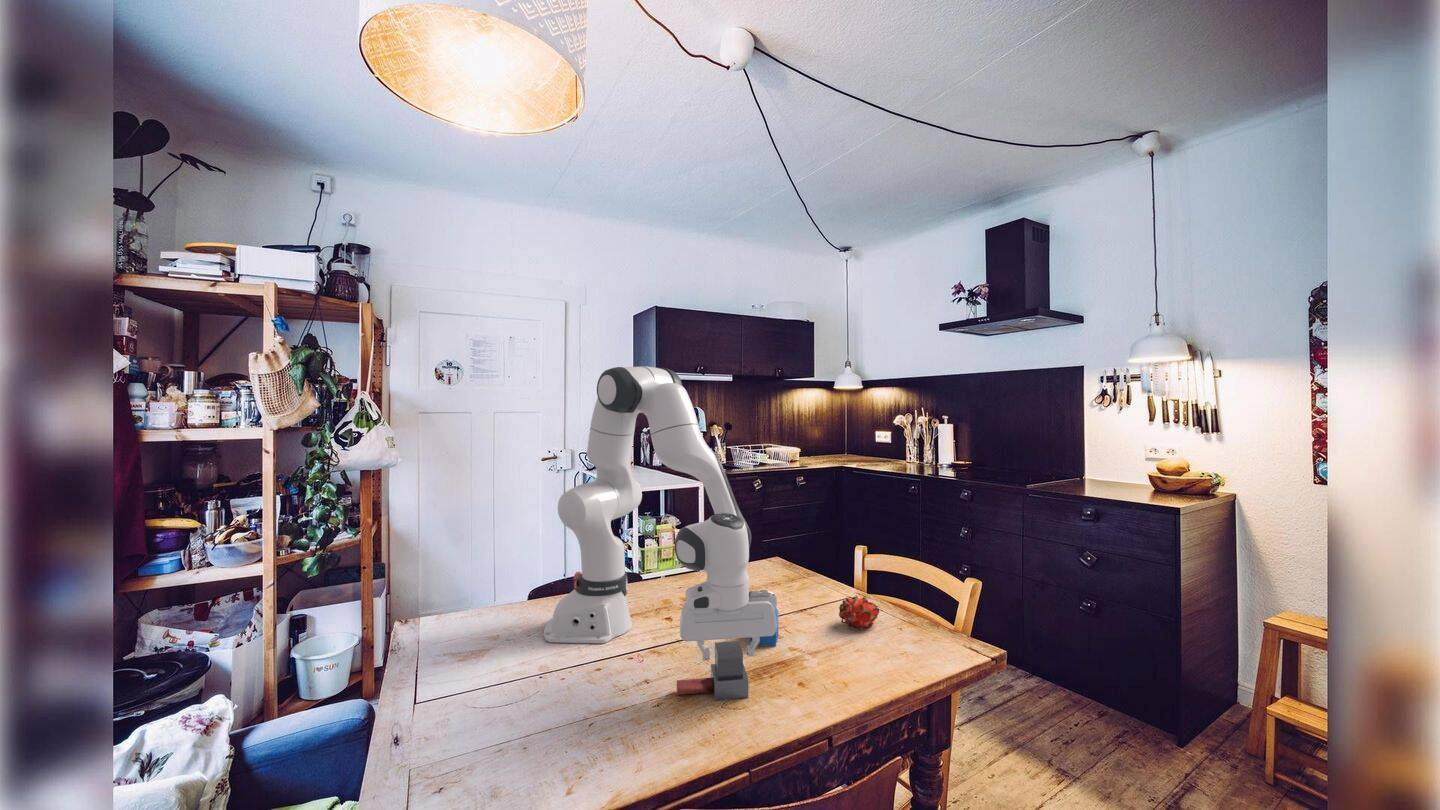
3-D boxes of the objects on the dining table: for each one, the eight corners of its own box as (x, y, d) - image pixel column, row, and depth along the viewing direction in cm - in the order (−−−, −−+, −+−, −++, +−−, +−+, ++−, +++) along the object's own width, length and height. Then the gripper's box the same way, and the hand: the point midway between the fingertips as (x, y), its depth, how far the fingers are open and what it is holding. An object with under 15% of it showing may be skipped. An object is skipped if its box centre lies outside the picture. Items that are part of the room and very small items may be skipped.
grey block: (718, 679, 120) (717, 654, 120) (715, 666, 126) (714, 642, 125) (742, 677, 121) (742, 652, 121) (738, 664, 126) (738, 640, 126)
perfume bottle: (775, 646, 142) (775, 598, 141) (750, 644, 144) (750, 596, 143) (778, 634, 148) (778, 588, 147) (754, 632, 150) (753, 587, 149)
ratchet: (677, 703, 119) (677, 670, 118) (676, 684, 126) (675, 653, 125) (748, 697, 121) (748, 664, 120) (742, 679, 128) (742, 648, 127)
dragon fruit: (834, 633, 152) (874, 633, 155) (849, 626, 145) (891, 626, 149) (828, 600, 157) (868, 601, 160) (843, 591, 150) (884, 592, 153)
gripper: (773, 584, 127) (773, 646, 128) (678, 589, 124) (679, 652, 125) (780, 596, 120) (780, 660, 121) (680, 601, 118) (681, 668, 119)
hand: (728, 656), depth 123 cm, fingers open, 8 cm apart
